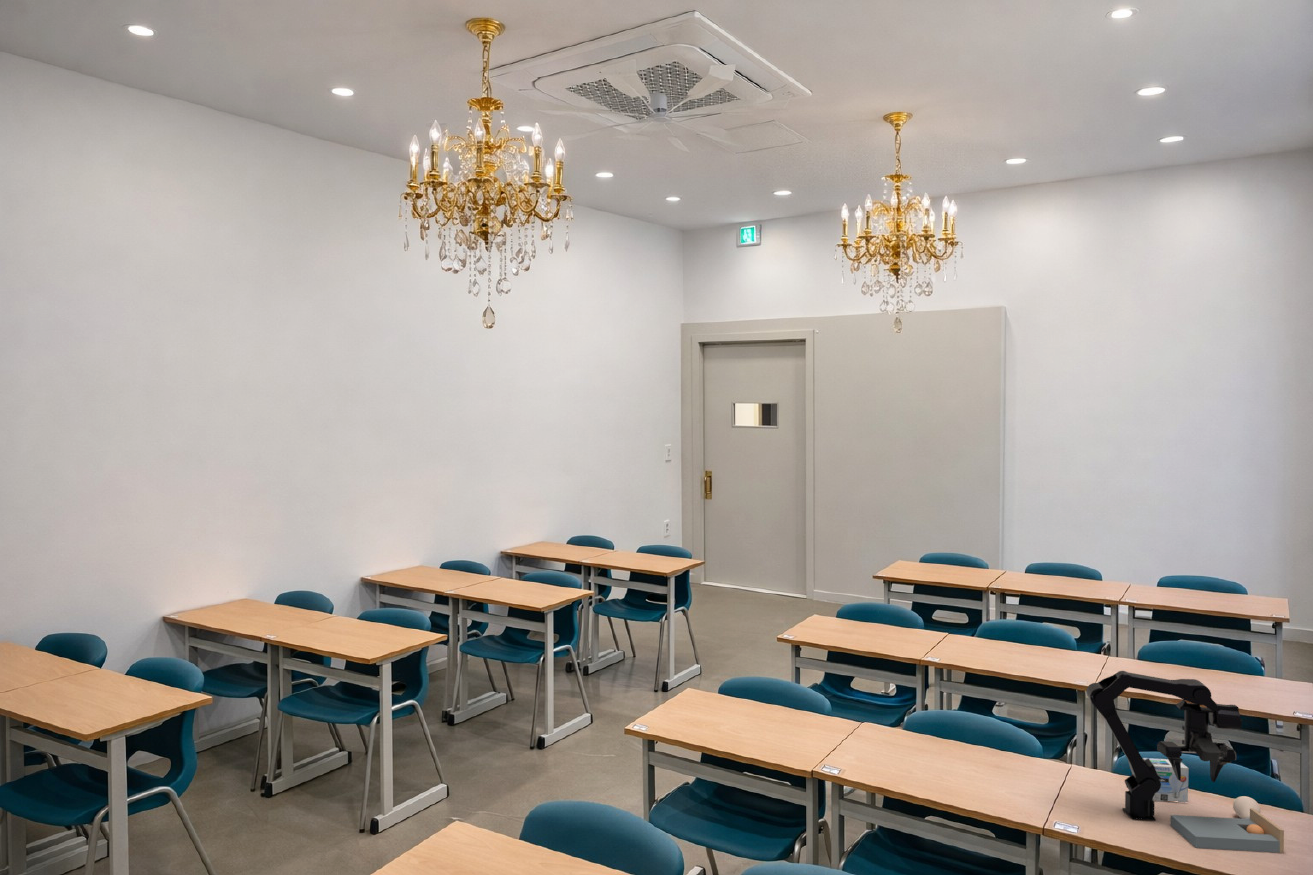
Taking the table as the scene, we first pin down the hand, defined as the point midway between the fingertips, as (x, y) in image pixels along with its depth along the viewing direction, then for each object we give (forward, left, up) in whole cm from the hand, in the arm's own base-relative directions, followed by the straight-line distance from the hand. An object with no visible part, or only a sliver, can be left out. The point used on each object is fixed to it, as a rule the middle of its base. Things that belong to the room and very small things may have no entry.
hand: (1195, 780), depth 236 cm
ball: (+11, -9, -10) cm, 17 cm away
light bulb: (+15, +3, -12) cm, 20 cm away
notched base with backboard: (+3, -9, -12) cm, 15 cm away
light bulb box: (0, +17, -12) cm, 21 cm away
